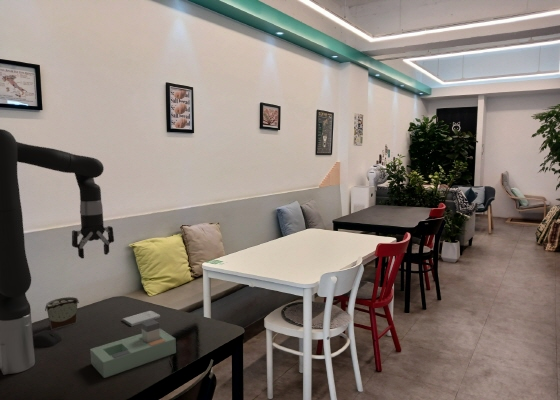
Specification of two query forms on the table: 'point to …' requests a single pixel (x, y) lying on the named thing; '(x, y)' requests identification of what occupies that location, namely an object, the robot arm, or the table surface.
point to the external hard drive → (141, 318)
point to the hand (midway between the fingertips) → (94, 256)
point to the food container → (62, 312)
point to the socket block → (130, 353)
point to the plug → (150, 331)
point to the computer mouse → (46, 338)
